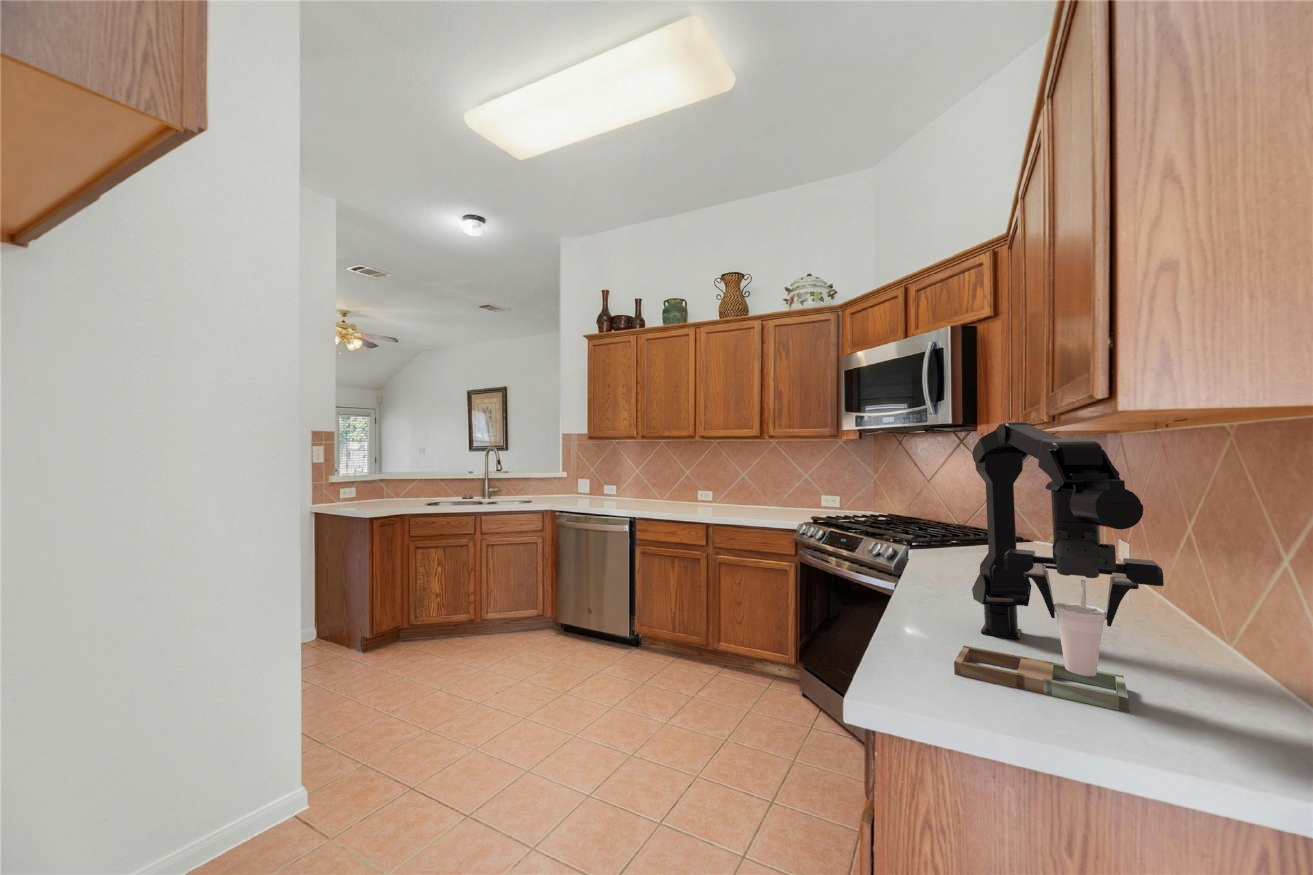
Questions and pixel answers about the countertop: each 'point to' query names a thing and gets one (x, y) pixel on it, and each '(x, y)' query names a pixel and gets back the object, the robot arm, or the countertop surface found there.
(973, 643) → the countertop surface
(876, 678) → the countertop surface
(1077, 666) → the smoothie
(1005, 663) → the caddy
